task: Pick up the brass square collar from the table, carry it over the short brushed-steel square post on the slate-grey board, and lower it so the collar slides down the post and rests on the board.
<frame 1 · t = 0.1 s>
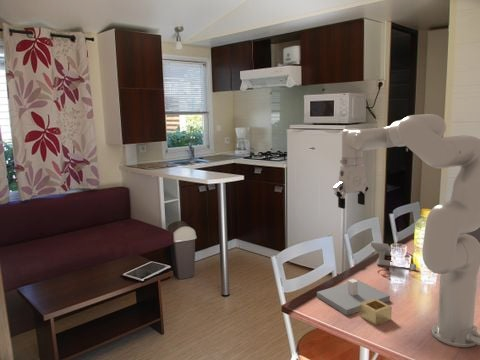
hand: (351, 206, 158), 31 cm above the table, tool pointing down, fingers open, 9 cm apart
post stand: (352, 298, 150), on the table
collar: (375, 317, 137), on the table
door handle: (395, 264, 182), on the table
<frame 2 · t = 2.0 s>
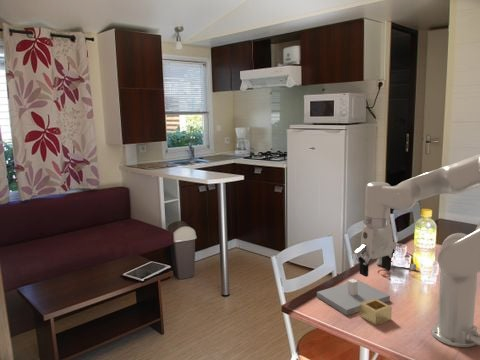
hand: (375, 271, 134), 16 cm above the table, tool pointing down, fingers open, 9 cm apart
nothing on the table moved.
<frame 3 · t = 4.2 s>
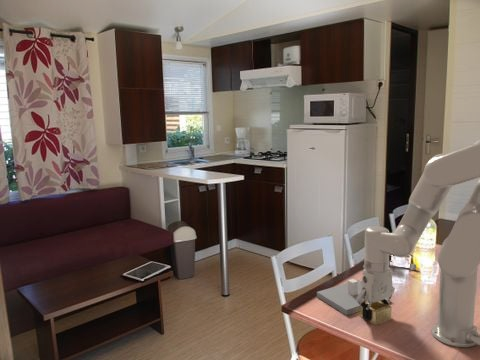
hand: (375, 315, 137), 1 cm above the table, tool pointing down, fingers closed on collar, 7 cm apart
collar: (375, 317, 137), on the table, touching gripper
everything else where it was.
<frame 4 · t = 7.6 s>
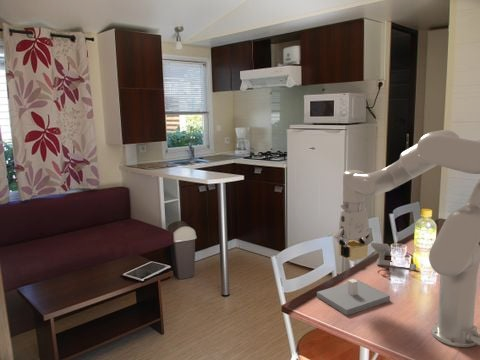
hand: (352, 254, 147), 17 cm above the table, tool pointing down, fingers closed on collar, 7 cm apart
collar: (352, 256, 148), point 16 cm above the table, touching gripper
everything else where it was.
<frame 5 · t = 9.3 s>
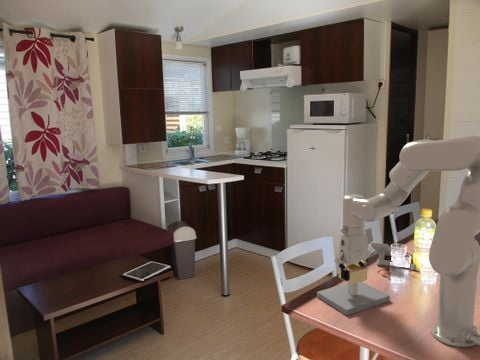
hand: (352, 276, 149), 8 cm above the table, tool pointing down, fingers closed on collar, 7 cm apart
collar: (352, 278, 149), point 8 cm above the table, touching gripper
everything else where it was.
when the fingers open (5 cm above the table, at t = 11.0 s): collar drops 2 cm, resting on post stand.
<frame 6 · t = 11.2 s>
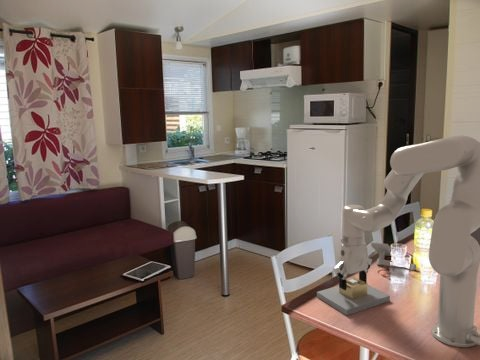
hand: (352, 285, 149), 5 cm above the table, tool pointing down, fingers open, 9 cm apart
collar: (352, 293, 150), point 2 cm above the table, touching post stand
everything else where it was.
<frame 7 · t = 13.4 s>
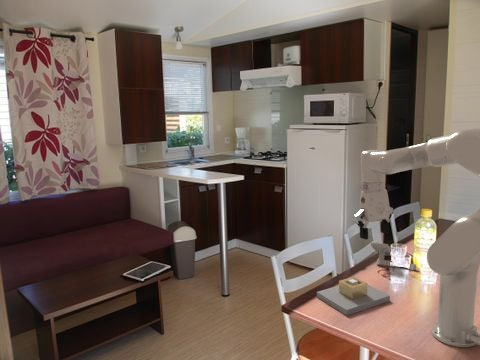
hand: (374, 235, 142), 25 cm above the table, tool pointing down, fingers open, 9 cm apart
nothing on the table moved.
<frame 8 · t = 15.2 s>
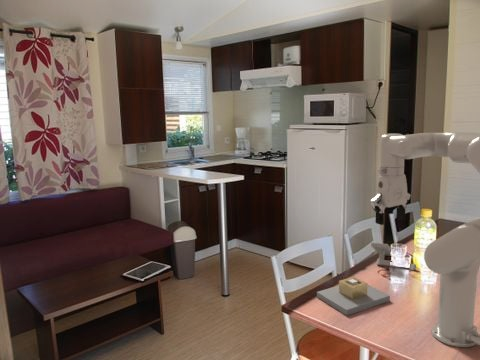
hand: (390, 221, 139), 30 cm above the table, tool pointing down, fingers open, 9 cm apart
nothing on the table moved.
at the end: collar 0.1 cm off-centre on the post stand, point 2.0 cm above the post stand's base; collar tilted 0°; the gripper is holding nothing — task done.
